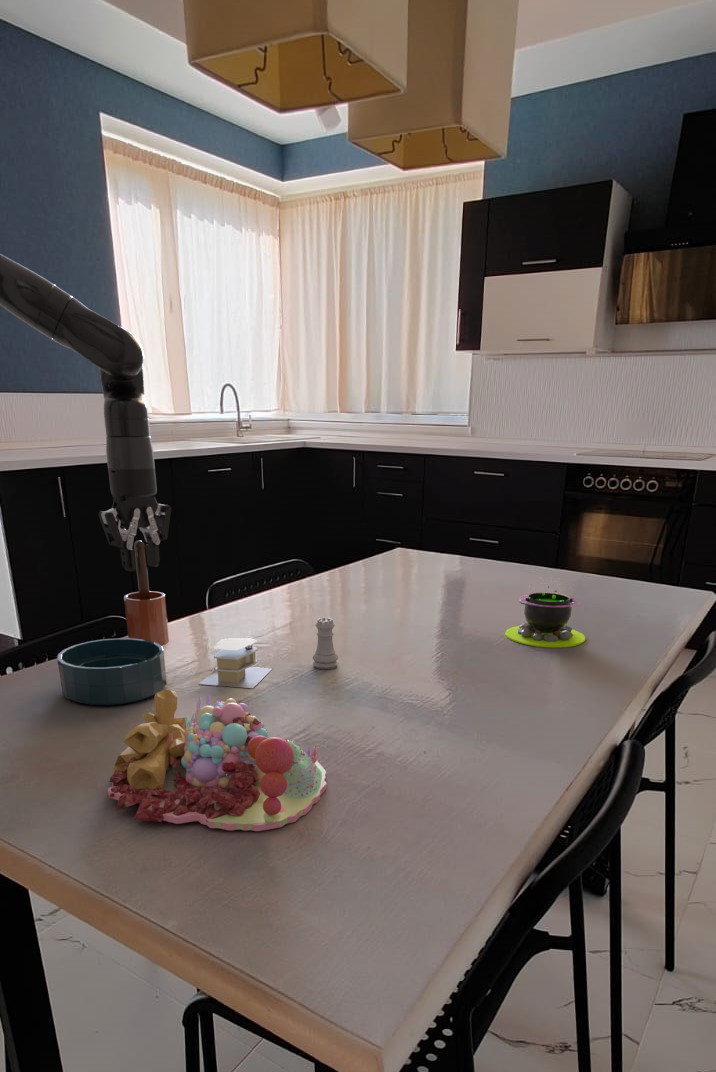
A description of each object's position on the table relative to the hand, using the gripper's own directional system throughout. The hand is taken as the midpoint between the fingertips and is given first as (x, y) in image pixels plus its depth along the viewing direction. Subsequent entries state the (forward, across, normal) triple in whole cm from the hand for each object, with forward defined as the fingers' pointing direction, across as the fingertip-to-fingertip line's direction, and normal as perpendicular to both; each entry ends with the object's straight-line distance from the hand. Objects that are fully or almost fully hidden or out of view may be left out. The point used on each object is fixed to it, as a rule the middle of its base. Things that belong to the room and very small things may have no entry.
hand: (141, 567), depth 135 cm
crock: (+14, 0, 0) cm, 14 cm away
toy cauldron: (+14, -50, +55) cm, 76 cm away
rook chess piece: (+14, -10, +33) cm, 37 cm away
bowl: (+14, +19, +15) cm, 28 cm away
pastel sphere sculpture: (+14, +31, +50) cm, 60 cm away
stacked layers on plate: (+14, +3, +25) cm, 29 cm away
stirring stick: (+13, 0, 0) cm, 13 cm away
